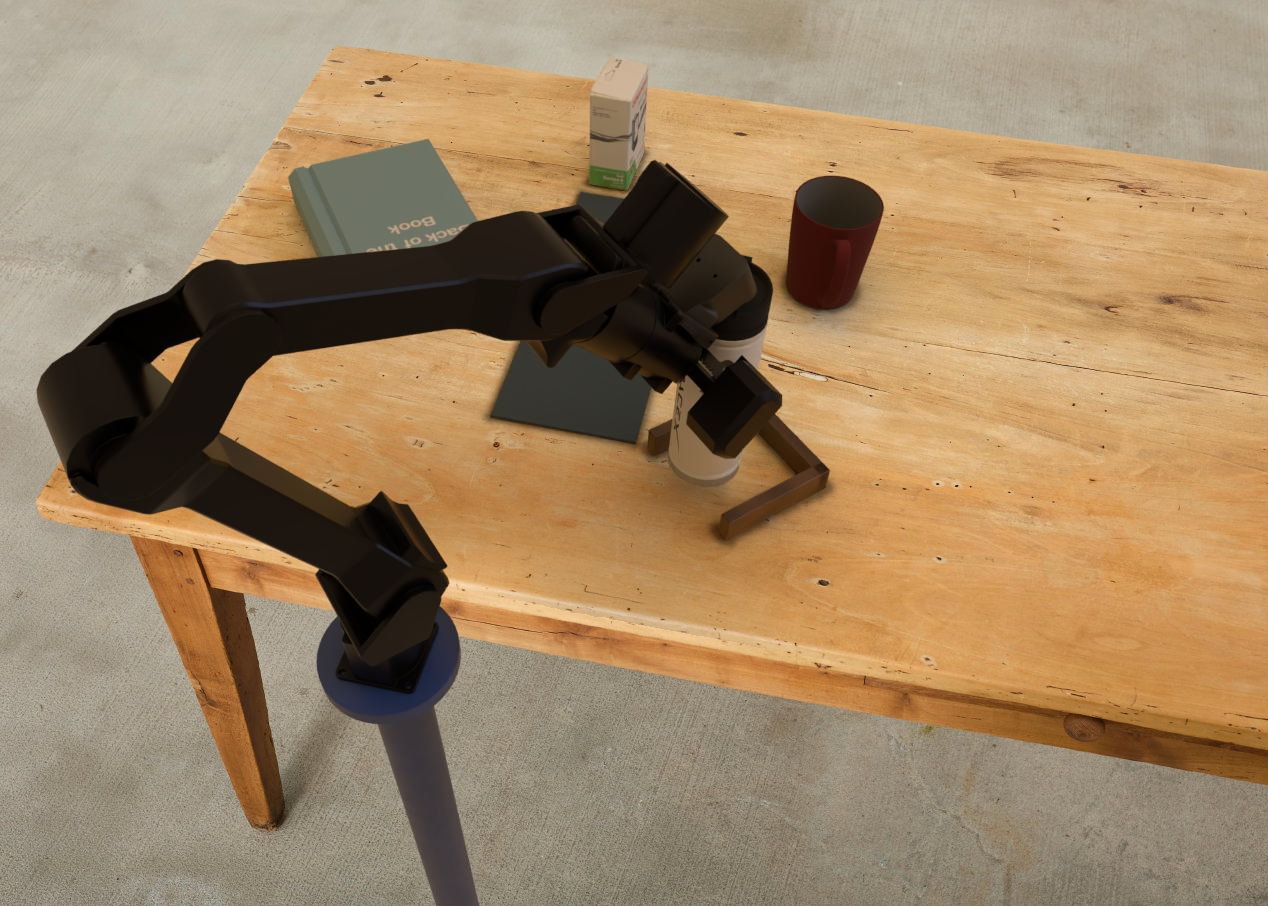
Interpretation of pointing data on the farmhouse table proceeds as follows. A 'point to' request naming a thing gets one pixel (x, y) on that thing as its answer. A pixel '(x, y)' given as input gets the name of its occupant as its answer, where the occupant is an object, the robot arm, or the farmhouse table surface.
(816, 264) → the mug
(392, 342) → the farmhouse table surface
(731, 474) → the travel mug
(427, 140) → the book
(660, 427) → the u-shaped bracket
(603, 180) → the ink box
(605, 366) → the desk mat
